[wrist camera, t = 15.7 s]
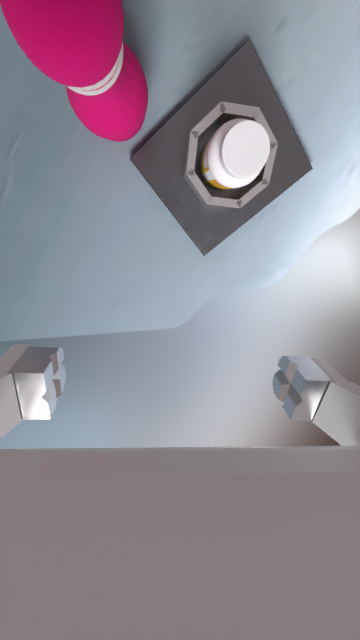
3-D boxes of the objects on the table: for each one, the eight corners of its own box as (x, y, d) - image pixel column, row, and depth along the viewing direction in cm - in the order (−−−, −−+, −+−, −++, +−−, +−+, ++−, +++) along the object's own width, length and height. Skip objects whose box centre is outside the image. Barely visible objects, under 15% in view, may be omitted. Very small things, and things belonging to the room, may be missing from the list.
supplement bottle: (253, 171, 30) (290, 160, 21) (214, 199, 31) (233, 200, 22) (231, 124, 28) (261, 90, 19) (189, 156, 29) (200, 138, 20)
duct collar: (202, 254, 35) (208, 262, 30) (130, 159, 30) (124, 153, 25) (308, 169, 31) (332, 164, 27) (246, 44, 26) (263, 13, 22)
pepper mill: (80, 56, 26) (-114, -271, 8) (152, 69, 27) (126, -203, 9) (82, 141, 29) (-53, 48, 11) (147, 151, 30) (121, 78, 12)
